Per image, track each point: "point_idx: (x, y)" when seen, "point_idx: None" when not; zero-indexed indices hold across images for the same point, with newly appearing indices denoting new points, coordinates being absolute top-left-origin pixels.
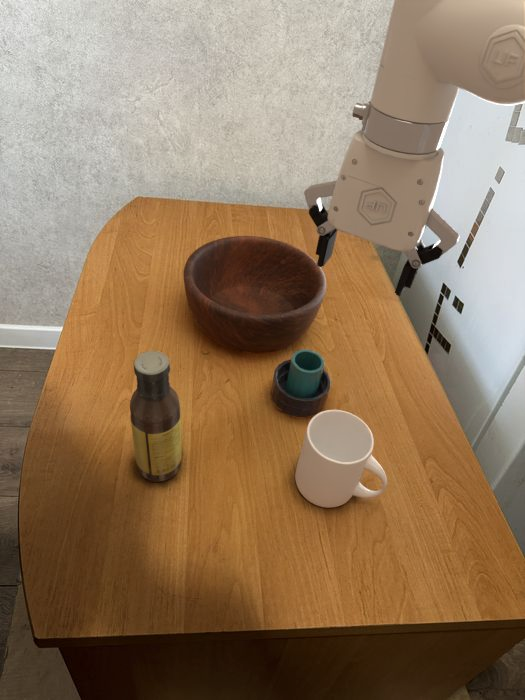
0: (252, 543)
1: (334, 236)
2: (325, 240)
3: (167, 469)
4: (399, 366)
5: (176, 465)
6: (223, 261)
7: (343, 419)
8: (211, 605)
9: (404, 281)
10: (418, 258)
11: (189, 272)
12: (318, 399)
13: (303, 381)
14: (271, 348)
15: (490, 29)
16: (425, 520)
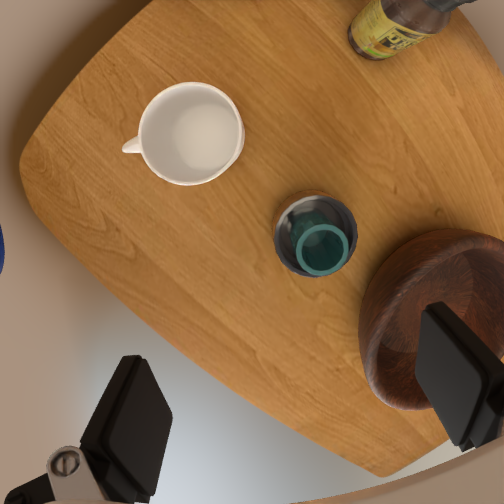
0: (226, 25)
1: (455, 420)
2: (493, 368)
3: (354, 19)
4: (235, 357)
5: (352, 30)
6: (487, 333)
7: (208, 176)
8: None
9: (104, 395)
10: (52, 482)
11: None
12: (277, 221)
13: (309, 221)
14: (381, 266)
15: None
16: (99, 179)
